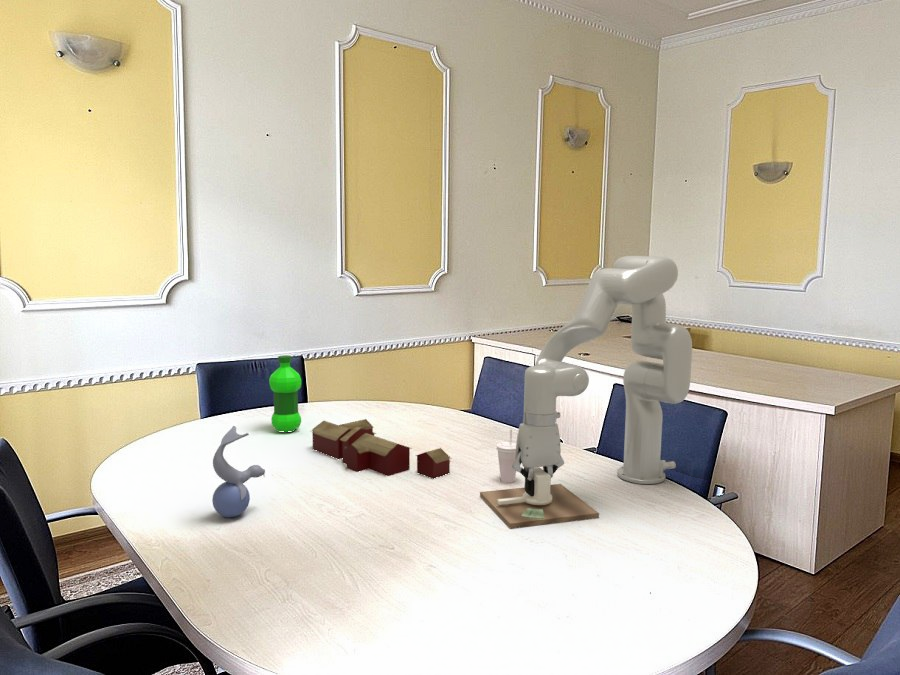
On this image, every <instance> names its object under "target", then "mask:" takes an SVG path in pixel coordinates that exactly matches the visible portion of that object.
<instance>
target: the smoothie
mask: <svg viewBox="0 0 900 675" xmlns="http://www.w3.org/2000/svg"><path fill="white" fill-rule="evenodd" d="M496 450H497V457H498V465H499V466H498V467H499V475H500V476H499V477H500V482H502V483H504V482H505V483H506V484H511V483H514V482H515V481H516V475H517V471H515V470H514V469H512V465H513V463H514V461H515V452H516V442H513V429H511V428H510V429H509V441H507V442H506V441H502V442H498V443H497V444H496ZM505 483H504V484H505Z"/></svg>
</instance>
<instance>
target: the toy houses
mask: <svg viewBox="0 0 900 675" xmlns="http://www.w3.org/2000/svg"><path fill="white" fill-rule="evenodd" d="M374 428H375V427H374V426H373V425H372V423H370V422H369V420H368V419H366V418H364V419H359V420H356V421H355V420H354V421H351V422H346V423H342V424H341V423H340V424H336V423H333V422H329V421H327V420H322V421H321V422H320V423H318V424H316V426H314V428H312V429H311V430H310V431H309V432H310V433H311V434H312V450H313V449H314V450H313V451H315V450H317V451H316V452H318V451H319V453H320V452H322V453H321V454H323V453H324V454H323V455H326V454H327V455H326V456H328V455H329V456H328V457H331V456H332V457H331V458H333V457H334V459H336V458H337V460H338V459H339V460H342V464H344V463H345V465H346V469H348V470H351V471H353V472H355V473H359V471H360V472H362V471H366V470H370V471H373V472H376V473H378V474H381V475H384V476H387V477H390V476H393V475H397V474H401V473H403V472H407V471H410V469H411V468H410V466H411V465H410V464H411V462H410V461H411V460H410V456H411V454H410V453H411V452H410V450H412V447H409V446H406V445H403V444H401V443H397V442H394V441H391V440H389V439H385V438H382V437H379V436H376V435H377V433H376V432H374ZM415 457H416V473H417V474H418V473H419V474H418V475H421V474H422V476H424V475H425V476H424V477H427V476H428V477H427V478H429V477H430V479H432V478H433V479H432V480H435V479H437V478H436V477H438V478H440V476H441V477H444V476H446V475H445V474H447V475H449V474H448V473H451V471H450V470H451V466H450V463H451V462H452V461H451V456H450V455H449V454H448V453H446V451H444V449H443V448H442V447H439V448H436V449H432V450H428V451H425V452H422V453H419V454H416V455H415ZM342 458H343V459H342ZM443 475H444V476H443ZM434 478H435V479H434Z"/></svg>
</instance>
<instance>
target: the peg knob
mask: <svg viewBox="0 0 900 675" xmlns="http://www.w3.org/2000/svg"><path fill="white" fill-rule="evenodd" d="M551 479H552V478H551V476H550V475H549V474H548V473H546V472H545V471H544V470H543V468H542V467H534V471H533V480H534V496H530V495H529V494H527V493H526V492H525V493H523V497H514V498H505V499H497V503H498V504H499V505H502V504H511V503H520V502H526V503H528V504H532V505H547V504H550V503H551V502H552V495H551V494H550V482H552V480H551Z"/></svg>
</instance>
